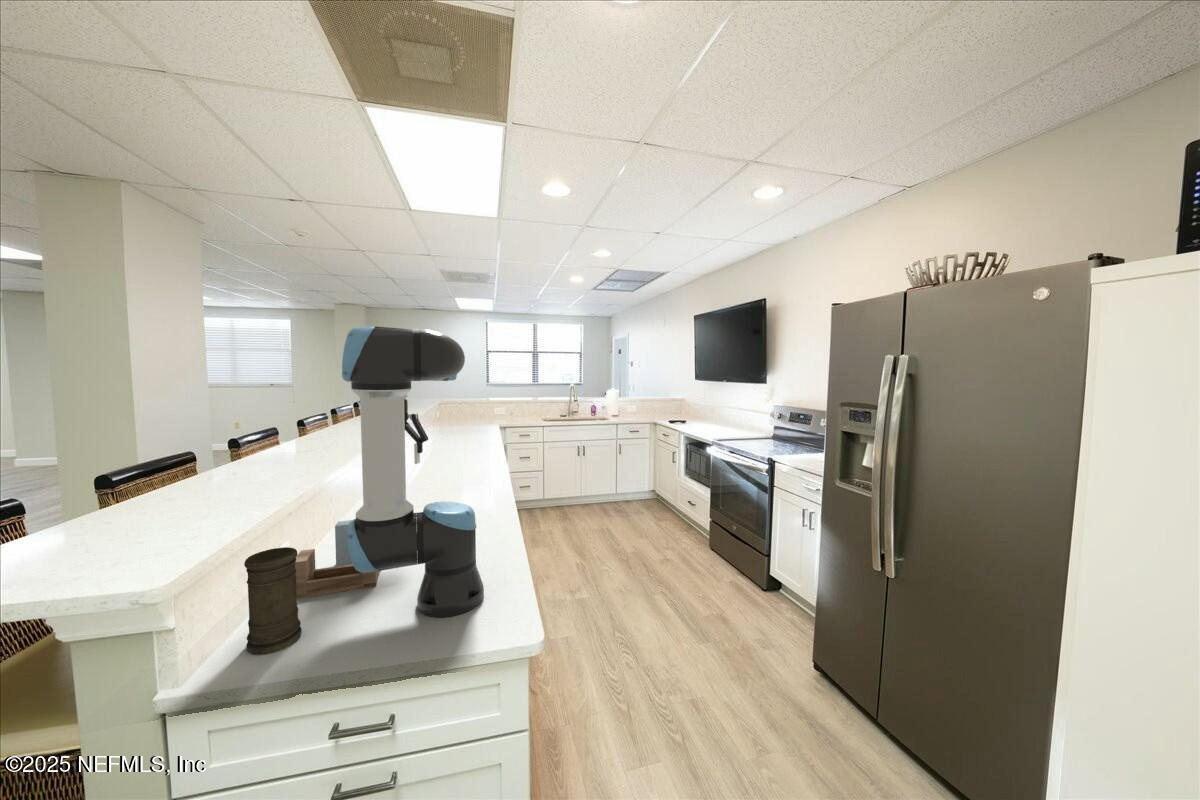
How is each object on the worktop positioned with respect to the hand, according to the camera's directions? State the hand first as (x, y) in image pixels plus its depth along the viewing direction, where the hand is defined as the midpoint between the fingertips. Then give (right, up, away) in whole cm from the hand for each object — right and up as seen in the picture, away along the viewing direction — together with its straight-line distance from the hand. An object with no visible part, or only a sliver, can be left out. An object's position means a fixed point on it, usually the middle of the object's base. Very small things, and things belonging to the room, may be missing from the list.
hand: (396, 463), depth 137 cm
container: (+1, -29, -52) cm, 59 cm away
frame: (-1, -27, -29) cm, 40 cm away
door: (-5, -27, -16) cm, 31 cm away
